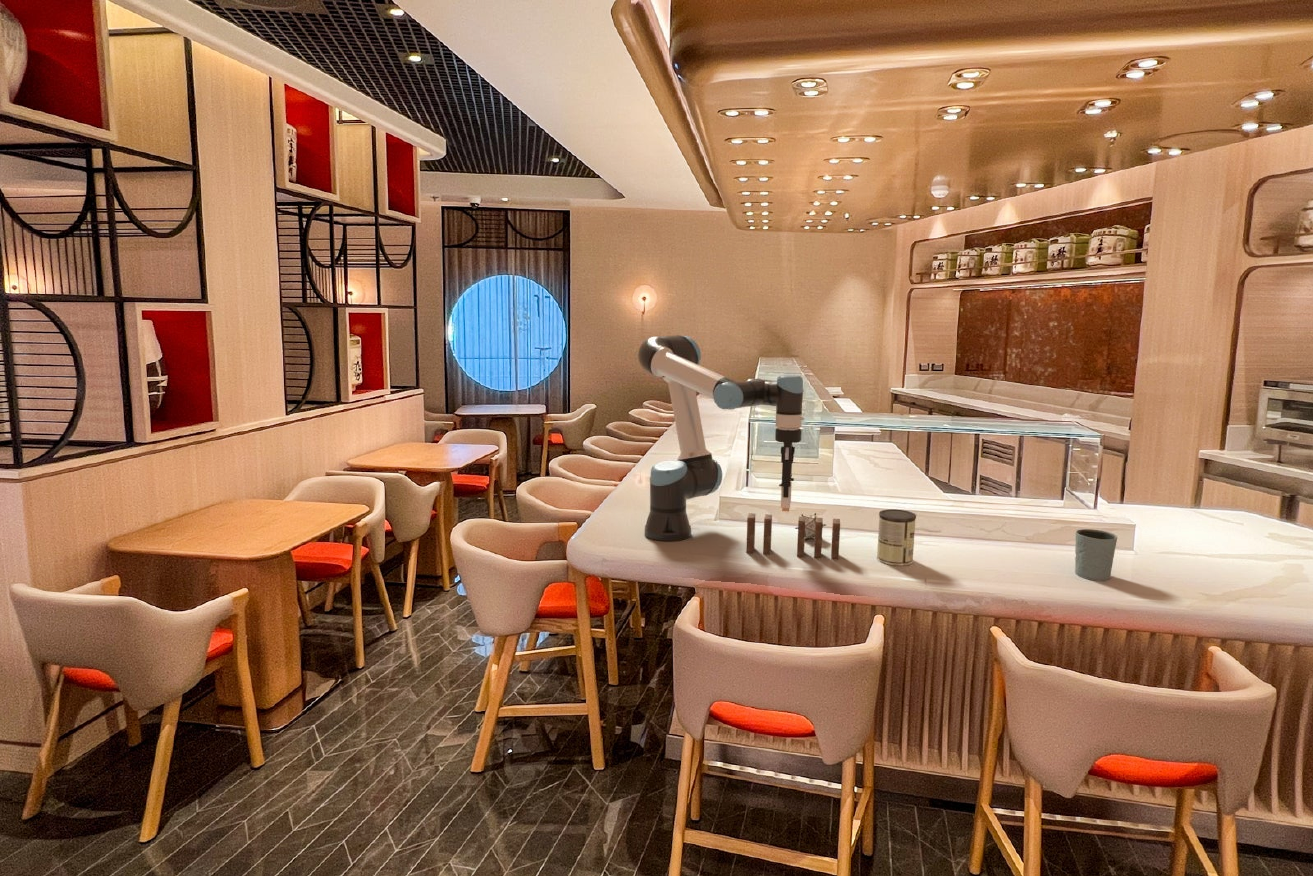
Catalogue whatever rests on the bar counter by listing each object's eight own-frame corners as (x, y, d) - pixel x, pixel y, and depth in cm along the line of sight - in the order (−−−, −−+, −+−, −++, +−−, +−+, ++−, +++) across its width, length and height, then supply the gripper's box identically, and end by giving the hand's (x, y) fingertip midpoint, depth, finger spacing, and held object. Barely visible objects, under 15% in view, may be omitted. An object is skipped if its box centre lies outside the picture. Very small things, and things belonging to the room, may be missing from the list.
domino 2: (763, 554, 228) (764, 518, 226) (764, 549, 233) (765, 514, 231) (769, 554, 228) (771, 519, 226) (770, 549, 233) (772, 514, 231)
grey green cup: (1095, 583, 206) (1100, 541, 204) (1062, 571, 215) (1067, 530, 213) (1121, 578, 210) (1126, 536, 208) (1087, 567, 219) (1092, 526, 217)
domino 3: (782, 511, 225) (783, 474, 223) (782, 506, 229) (784, 471, 228) (789, 511, 224) (790, 475, 222) (789, 507, 229) (790, 471, 227)
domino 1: (746, 552, 229) (747, 517, 227) (747, 547, 234) (748, 513, 232) (753, 553, 229) (754, 518, 227) (754, 548, 234) (755, 513, 232)
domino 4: (796, 556, 226) (798, 520, 224) (797, 551, 231) (798, 516, 229) (803, 557, 226) (805, 521, 224) (804, 551, 230) (805, 516, 229)
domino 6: (831, 559, 224) (833, 523, 222) (831, 553, 229) (832, 518, 227) (838, 559, 224) (840, 523, 222) (837, 554, 228) (839, 519, 227)
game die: (814, 551, 243) (825, 532, 236) (789, 540, 244) (800, 521, 237) (820, 531, 249) (831, 512, 242) (796, 521, 250) (806, 502, 243)
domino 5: (814, 558, 225) (815, 522, 223) (814, 552, 230) (815, 517, 228) (820, 558, 225) (822, 522, 223) (820, 553, 229) (822, 517, 228)
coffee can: (877, 552, 230) (880, 507, 228) (913, 556, 227) (916, 511, 224) (875, 563, 221) (878, 516, 218) (912, 567, 217) (916, 520, 215)
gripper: (800, 433, 213) (797, 513, 217) (802, 423, 231) (799, 498, 235) (773, 432, 215) (771, 512, 219) (777, 422, 232) (774, 497, 236)
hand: (785, 505), depth 227 cm, fingers closed on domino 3, 5 cm apart
